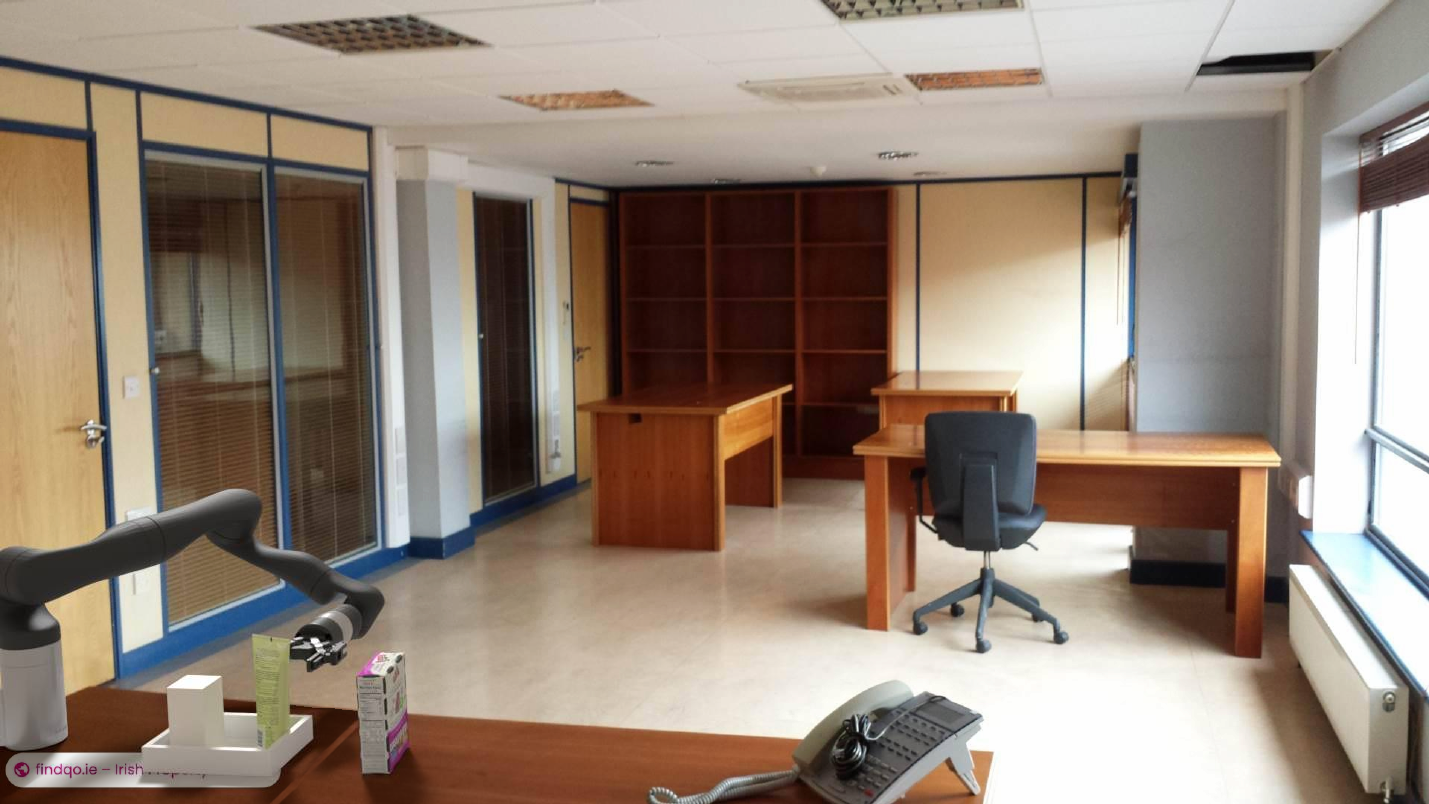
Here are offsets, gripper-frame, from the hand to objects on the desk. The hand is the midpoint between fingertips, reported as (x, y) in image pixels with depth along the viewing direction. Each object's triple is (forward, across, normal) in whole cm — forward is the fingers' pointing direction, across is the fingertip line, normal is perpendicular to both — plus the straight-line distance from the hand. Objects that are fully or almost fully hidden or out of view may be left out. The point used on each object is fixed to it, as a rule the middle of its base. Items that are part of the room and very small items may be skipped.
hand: (283, 666), depth 199 cm
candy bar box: (+7, -20, -13) cm, 25 cm away
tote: (+9, +5, -13) cm, 17 cm away
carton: (+9, +11, -12) cm, 18 cm away
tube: (+8, -2, -12) cm, 15 cm away
